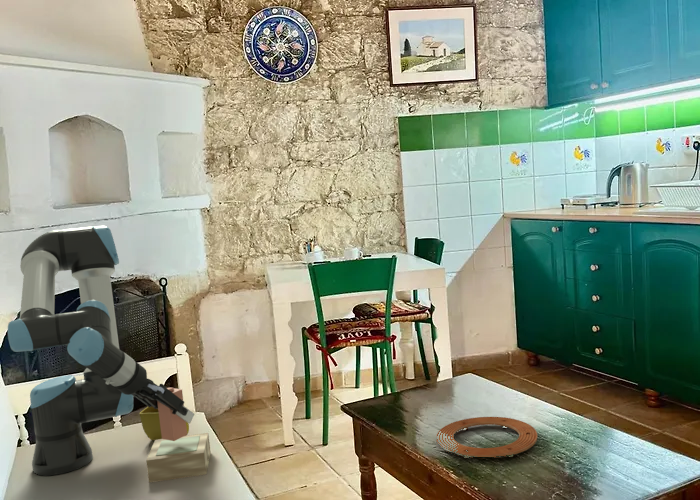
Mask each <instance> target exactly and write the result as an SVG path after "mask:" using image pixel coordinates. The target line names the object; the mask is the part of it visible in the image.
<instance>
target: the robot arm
mask: <svg viewBox="0 0 700 500" xmlns="http://www.w3.org/2000/svg"><path fill="white" fill-rule="evenodd" d="M117 252H118V251H117V247H116V244H115V240H114V237H113V233H112V230H111V229H110V228H109V227H108V226H106V225H97V226H94V225H91V226H83V227H76V228H75V227H74V228H66V229H53V230H51V231H47V232H46V233H43V234H41V235H39V236H38V237H37V238H35V239H34V240H33V241H32V242H31V243H29V245H28V246H27V247H26V248H25V250H24V252H23V253H22V256H21V259H20V271H21V273H22V275H23V277H22V279H23V280H22V291H21V301H20V311H19V313H20V315H19V318H17V319H14V320H11V321H9V322H8V325H7V339H8V343H9V346H10V349H11V351H13V352H16V353H19V352H32V351H37V350H43V349H48V348H54V347H60V346H67V348H66V349H67V353H68V354H69V356H71V357H72V358H73V359H74V360H75V361H76V362H77V363H78V364H80V365H82V366H84V367H85V369H84V371H83V373H82V374H83V379H82V378H81V379H77V378H76V377H75V376H74V375H73V374H68V375H61V376H57V377H54V378H50V379H48V380H45V381H42V382H41V383H39V384H37V385H35V386H34V387H33V388H32V389H31V390H30V393H29V394H30V395H29V398H30V405H29V406H30V409H31V416H32V421H33V428H34V435H35V447H34V452H33V457H32V461H31V462H32V463H31V466H32V472H33V471H34V472H33V473H34V474H35V473H36V475H37V474H38V475H37V476H42V477H43V476H45V477H47V476H56V475H62V474H66V473H69V472H72V471H75V470H78V469H80V468H82V467H84V466H86V465H88V464H90V462H91V461H92V460H93V459H94V457H93V449H92V447H91V445H90V443H89V441H88V440H87V438H86V436H85V434H84V431H83V428H82V427H83V426H82V424H83V423H89V422H94V421H99V420H105V419H109V418H118V417H120V416H122V415H123V416H124V415H128V414H129V413H131V412H132V411H133V410H134V398H136V399H137V400H139V401H140V402H141V403H142V404H144V405H146V406H147V407H151V406H152V407H154V408H155V409H158V403H157V401H158V402H160V403H162V404H163V405H165V406H166V407H168V408H170V409H171V410H173V412H172V414H176V415H177V416H179V417H180V418H181V419H183V420H184V421H186V422H187V423H188V424H191V423H192V421H193V418H194V416H195V413H194V412H193V411H191V409H189V408H188V407H186V406H185V405H184V406H183V404H185V401H184V399H183V400H181V399H180V398H179V397H177V396H176V395H175V394H173V393H172V392H171V391H170V390H168V389H167V388H168V387H166V385H165V384H163V383H159V385H158V384H157V383H155V382H154V381H153V380H152V379H151V378H148V376H147V375H148V372H147V370H146V368H145V367H144V366H142V365H141V363H138V362H137V361H135V359H133V358H132V356H130V355H128V354H127V353H126V352H124V351H123V350H121V349H120V344H119V336H118V334H119V333H118V329H117V328H118V327H117V319H116V313H115V312H116V311H115V304H114V303H115V302H114V297H113V288H112V281H111V278H112V277H111V276H112V275H113V274H114V273H115V272H116V269H115V267H116V266H117V265H119V264H120V260H119V256H118V253H117ZM62 271H64V272H65V271H70V272H71V277H73V278H74V279H75V280H77V282H78V288H79V296H80V297H79V300H80V305H78V307H77V308H76V311H69V312H63V313H56V314H55V299H56V296H55V295H56V293H55V292H56V290H55V289H56V276H57V275H58V272H62Z"/></svg>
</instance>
